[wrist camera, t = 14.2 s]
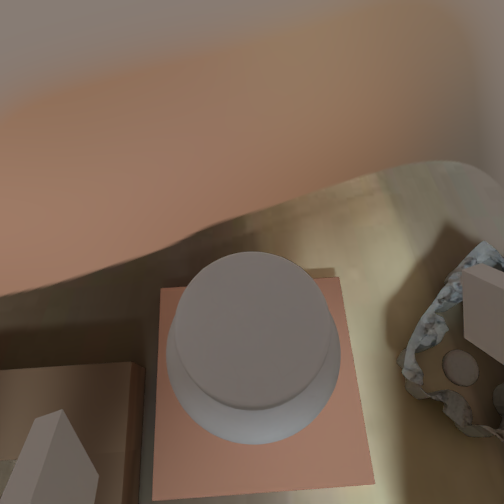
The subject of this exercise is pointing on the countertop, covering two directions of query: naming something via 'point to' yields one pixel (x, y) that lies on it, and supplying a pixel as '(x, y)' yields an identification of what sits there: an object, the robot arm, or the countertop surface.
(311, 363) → the supplement bottle
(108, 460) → the pocket board
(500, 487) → the countertop surface
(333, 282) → the mat
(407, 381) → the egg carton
